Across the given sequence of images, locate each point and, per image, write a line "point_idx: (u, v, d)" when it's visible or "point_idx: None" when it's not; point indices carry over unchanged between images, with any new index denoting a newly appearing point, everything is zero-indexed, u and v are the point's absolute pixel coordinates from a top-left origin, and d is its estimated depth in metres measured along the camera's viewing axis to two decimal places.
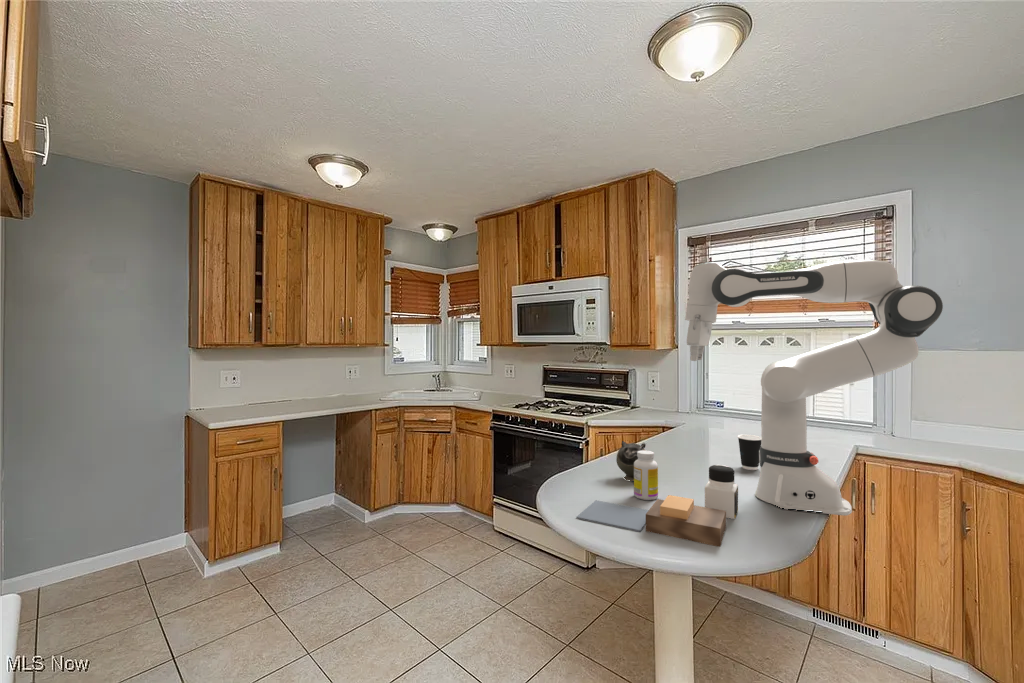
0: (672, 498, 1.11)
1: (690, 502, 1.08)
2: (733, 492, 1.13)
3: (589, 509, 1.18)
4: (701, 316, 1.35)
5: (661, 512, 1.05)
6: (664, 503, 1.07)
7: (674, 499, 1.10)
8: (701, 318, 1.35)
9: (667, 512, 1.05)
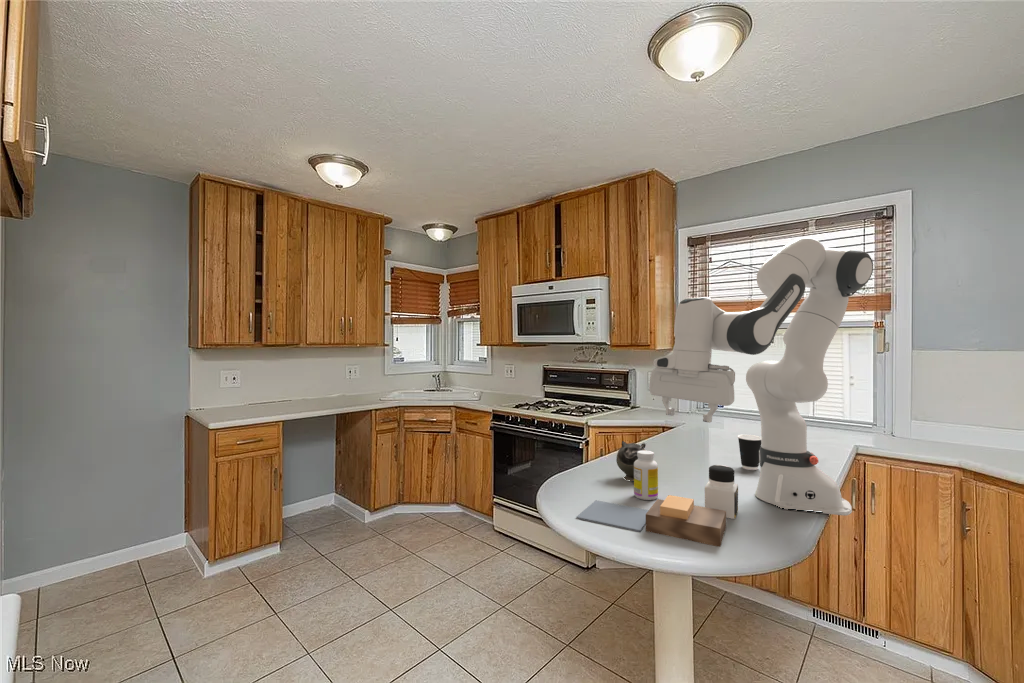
0: (672, 498, 1.11)
1: (690, 502, 1.08)
2: (733, 492, 1.13)
3: (589, 509, 1.18)
4: None
5: (661, 512, 1.05)
6: (664, 503, 1.07)
7: (674, 499, 1.10)
8: None
9: (667, 512, 1.05)
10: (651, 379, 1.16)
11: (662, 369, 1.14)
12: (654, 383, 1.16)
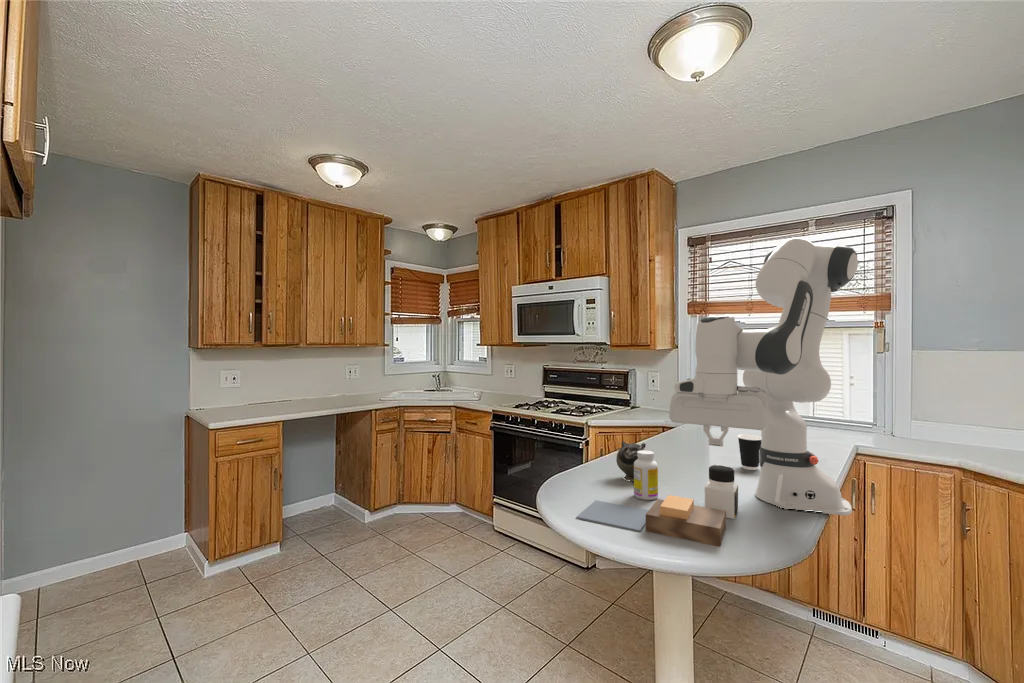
0: (672, 498, 1.11)
1: (690, 502, 1.08)
2: (733, 492, 1.13)
3: (589, 509, 1.18)
4: None
5: (661, 512, 1.05)
6: (664, 503, 1.07)
7: (674, 499, 1.10)
8: None
9: (667, 512, 1.05)
10: (672, 406, 1.06)
11: (685, 394, 1.04)
12: (675, 409, 1.06)
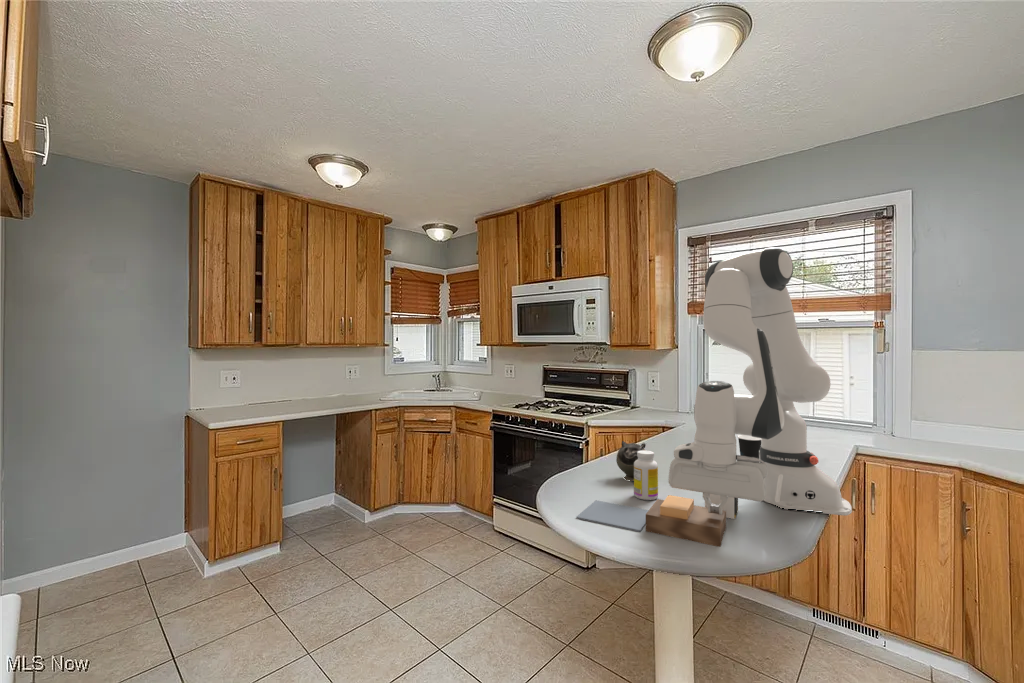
0: (672, 498, 1.11)
1: (690, 502, 1.08)
2: None
3: (589, 509, 1.18)
4: None
5: (661, 512, 1.05)
6: (664, 503, 1.07)
7: (674, 499, 1.10)
8: None
9: (667, 512, 1.05)
10: (671, 471, 1.06)
11: (685, 461, 1.04)
12: (674, 475, 1.06)
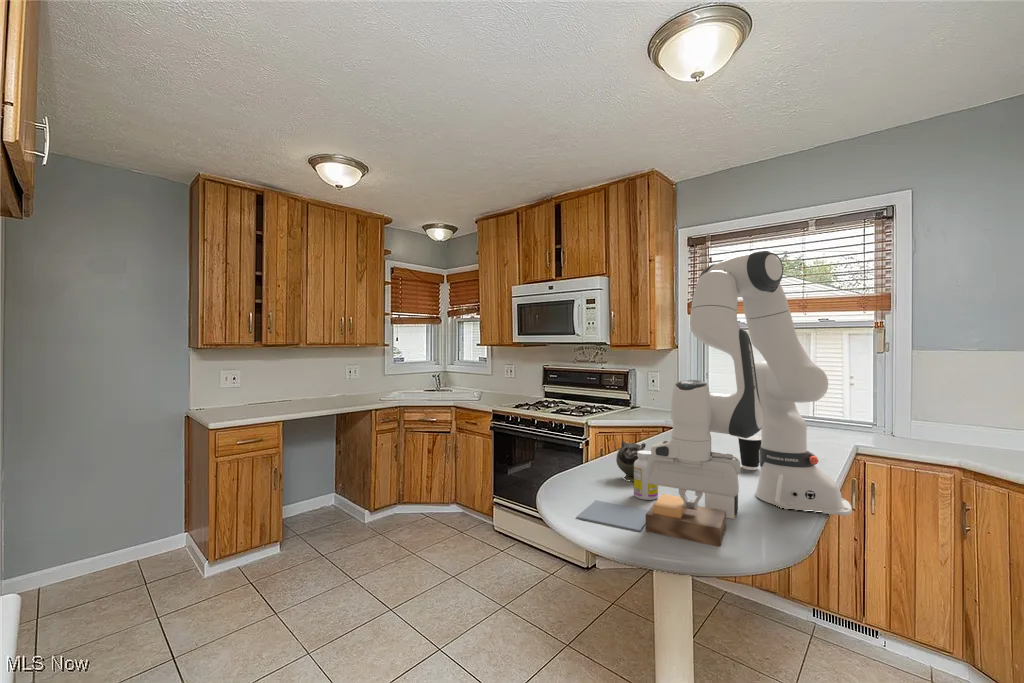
0: (666, 497, 1.11)
1: None
2: None
3: (589, 509, 1.18)
4: None
5: (655, 511, 1.06)
6: (658, 502, 1.08)
7: (668, 498, 1.11)
8: None
9: (660, 510, 1.05)
10: (649, 468, 1.09)
11: (661, 458, 1.07)
12: (652, 472, 1.09)
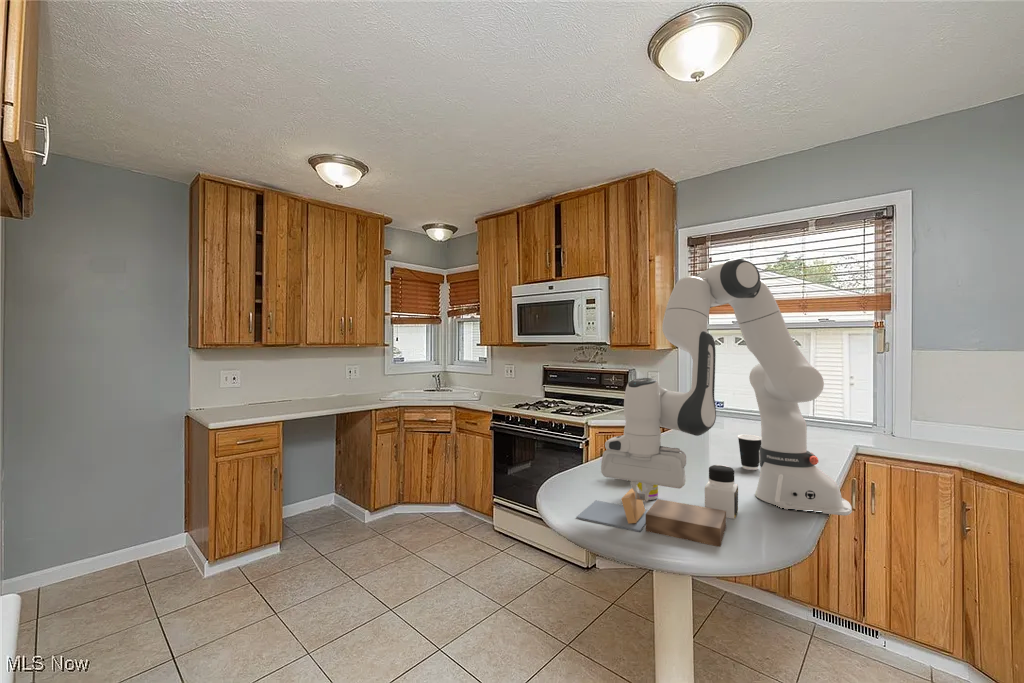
0: None
1: None
2: (733, 492, 1.13)
3: (589, 509, 1.18)
4: None
5: (633, 521, 1.09)
6: None
7: None
8: None
9: (630, 516, 1.09)
10: (603, 461, 1.15)
11: (614, 452, 1.13)
12: (606, 465, 1.15)
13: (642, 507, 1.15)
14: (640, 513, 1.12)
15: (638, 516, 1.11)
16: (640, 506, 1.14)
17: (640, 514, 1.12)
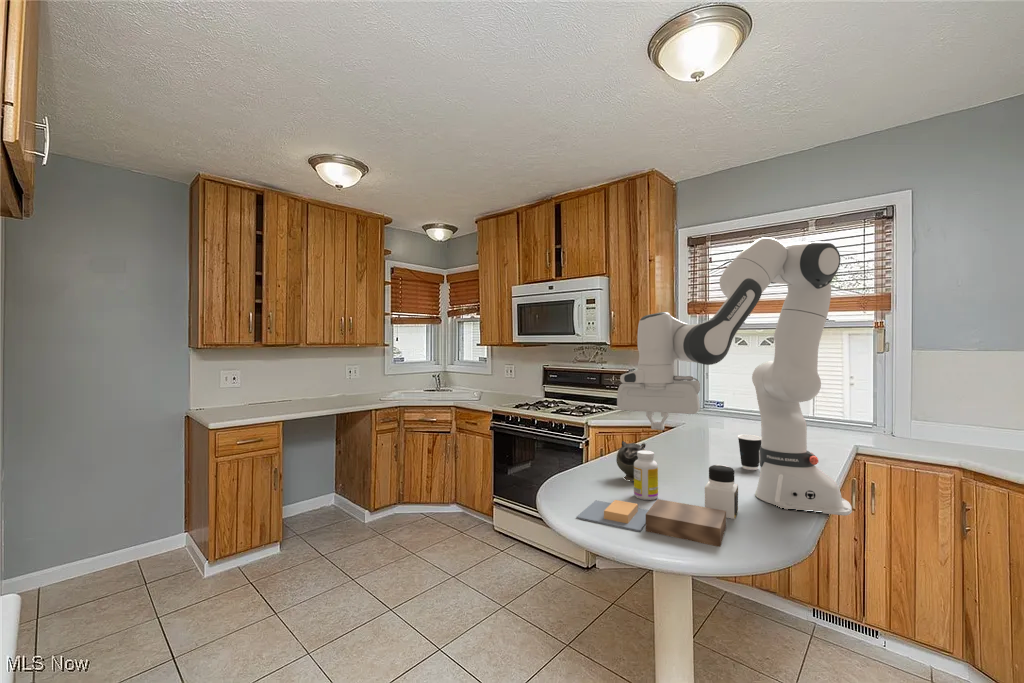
0: None
1: None
2: (733, 492, 1.13)
3: (589, 509, 1.18)
4: None
5: (626, 517, 1.09)
6: None
7: None
8: None
9: (621, 517, 1.10)
10: (619, 395, 1.19)
11: (630, 384, 1.17)
12: (622, 399, 1.19)
13: (631, 504, 1.17)
14: (630, 508, 1.14)
15: (628, 511, 1.12)
16: (627, 505, 1.16)
17: (631, 508, 1.13)
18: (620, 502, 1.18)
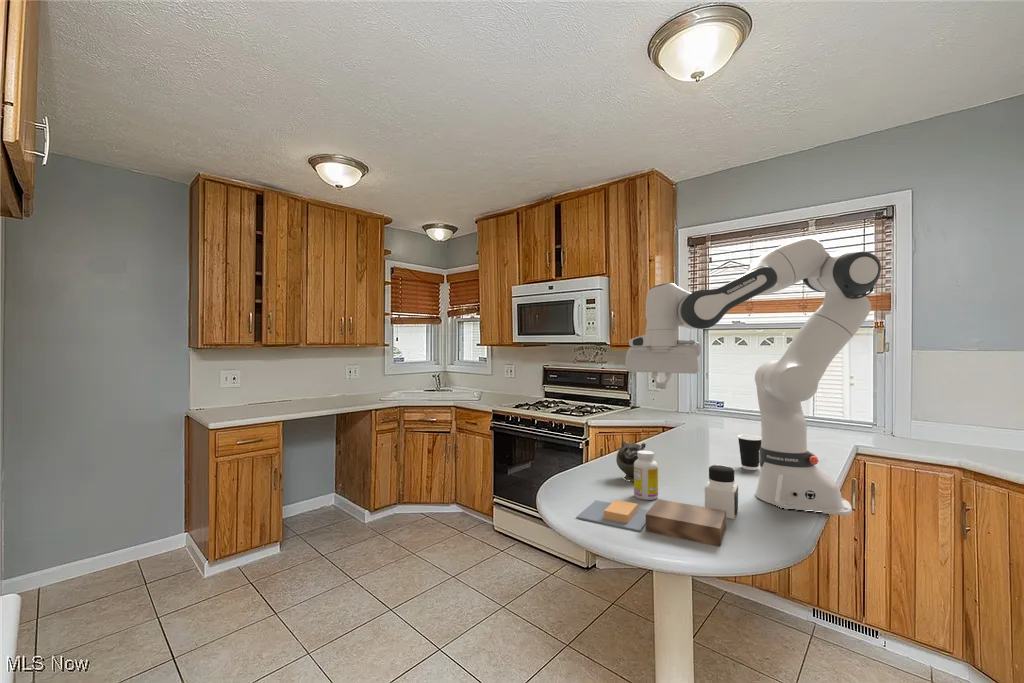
0: None
1: None
2: (733, 492, 1.13)
3: (589, 509, 1.18)
4: None
5: (626, 517, 1.09)
6: None
7: None
8: None
9: (621, 517, 1.10)
10: (627, 358, 1.32)
11: (637, 347, 1.30)
12: (630, 361, 1.32)
13: (631, 504, 1.17)
14: (630, 508, 1.14)
15: (628, 511, 1.12)
16: (627, 505, 1.16)
17: (631, 508, 1.13)
18: (620, 502, 1.18)
